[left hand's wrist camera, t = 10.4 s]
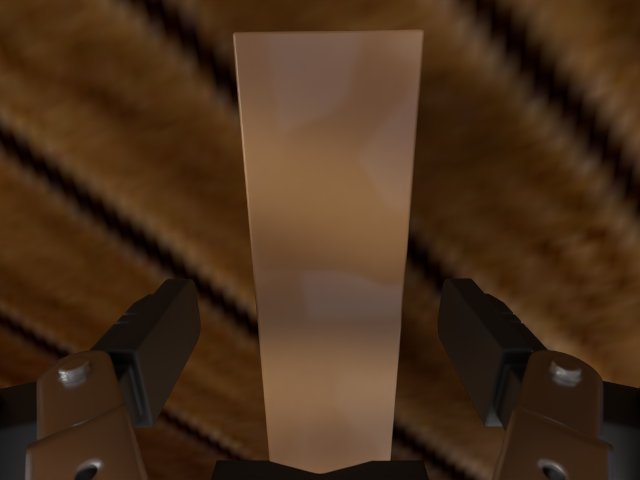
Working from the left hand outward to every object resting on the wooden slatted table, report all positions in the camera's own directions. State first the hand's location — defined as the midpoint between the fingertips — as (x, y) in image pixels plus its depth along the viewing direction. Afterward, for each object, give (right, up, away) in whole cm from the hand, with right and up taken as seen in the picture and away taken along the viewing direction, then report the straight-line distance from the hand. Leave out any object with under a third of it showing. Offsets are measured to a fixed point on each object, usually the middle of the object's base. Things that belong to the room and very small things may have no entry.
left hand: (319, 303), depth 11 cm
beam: (0, -15, +12) cm, 19 cm away
